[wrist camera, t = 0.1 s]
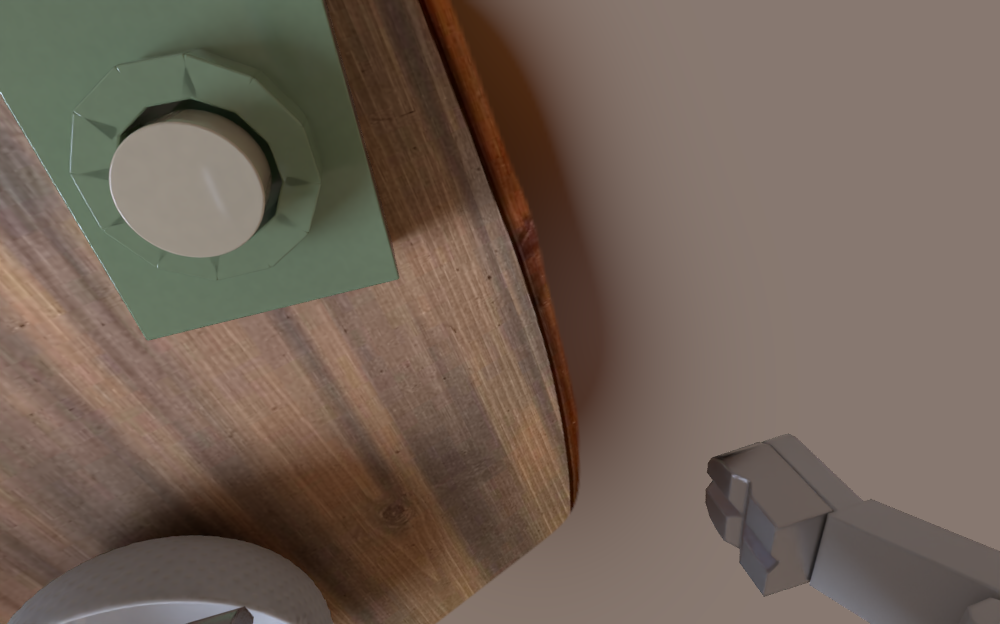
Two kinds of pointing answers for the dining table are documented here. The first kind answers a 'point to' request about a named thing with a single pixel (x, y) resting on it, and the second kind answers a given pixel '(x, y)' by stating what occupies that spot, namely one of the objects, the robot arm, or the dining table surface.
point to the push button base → (217, 89)
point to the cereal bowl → (178, 586)
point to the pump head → (191, 183)
